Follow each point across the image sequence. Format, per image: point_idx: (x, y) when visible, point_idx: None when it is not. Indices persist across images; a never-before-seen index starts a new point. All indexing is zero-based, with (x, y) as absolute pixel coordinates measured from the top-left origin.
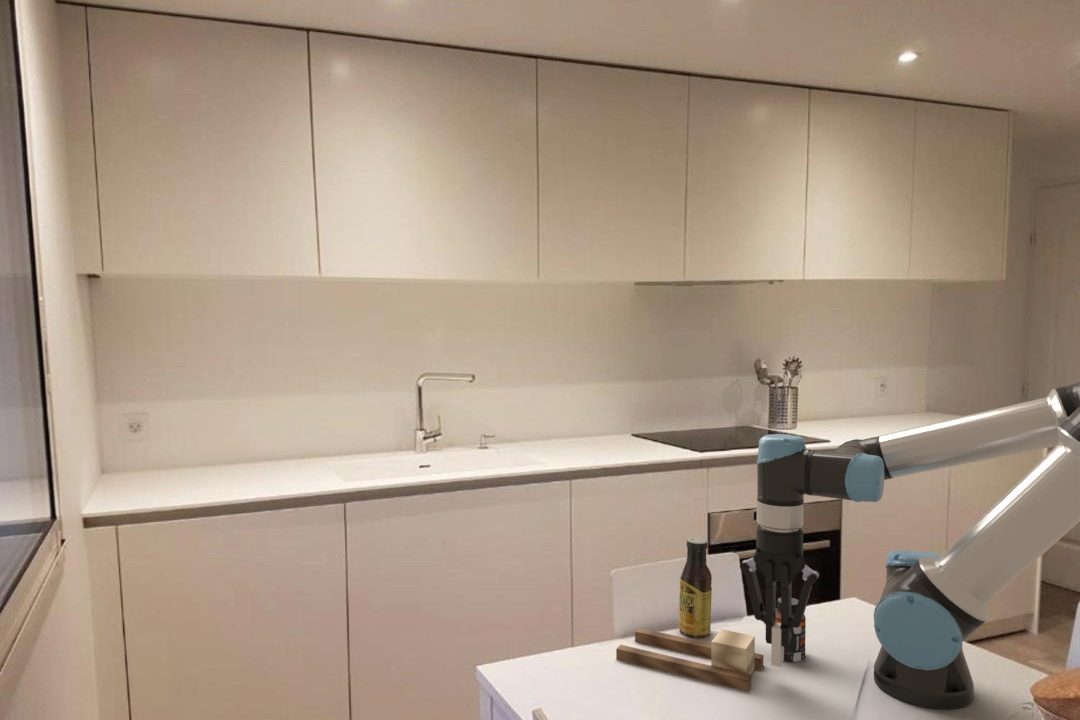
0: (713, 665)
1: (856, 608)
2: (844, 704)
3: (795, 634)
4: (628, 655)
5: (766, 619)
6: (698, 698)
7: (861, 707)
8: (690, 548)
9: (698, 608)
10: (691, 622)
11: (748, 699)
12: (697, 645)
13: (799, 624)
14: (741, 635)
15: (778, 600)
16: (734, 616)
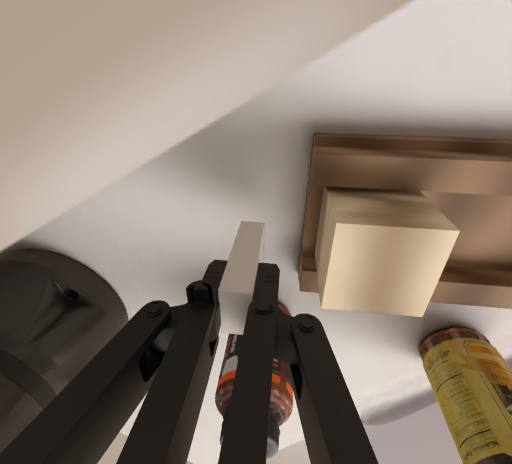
0: (419, 196)
1: (210, 460)
2: (131, 204)
3: (235, 354)
4: None
5: (270, 318)
6: (443, 71)
7: (104, 206)
8: None
9: (487, 400)
10: (484, 363)
11: (310, 133)
12: (464, 283)
13: (140, 310)
14: (358, 300)
15: (274, 444)
16: (374, 419)
